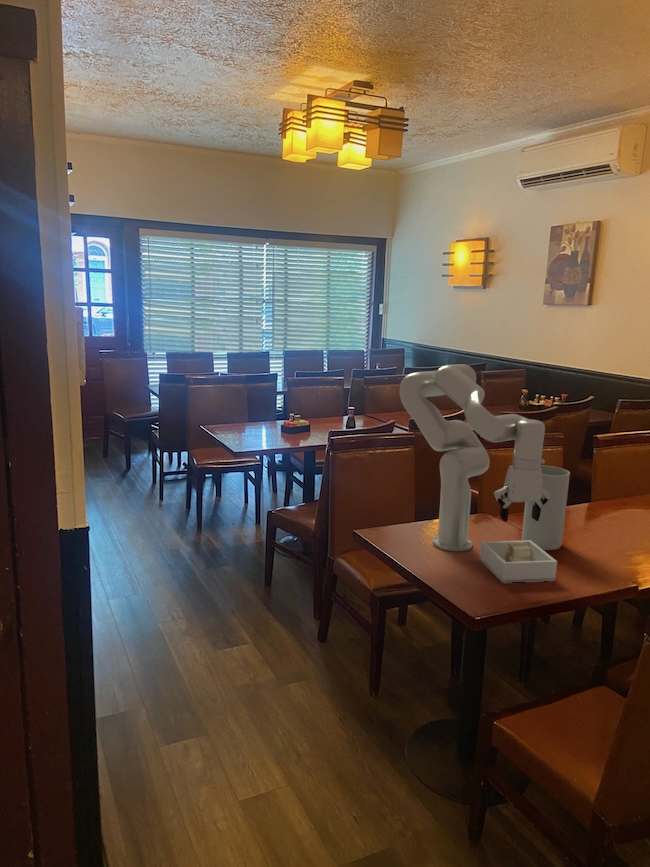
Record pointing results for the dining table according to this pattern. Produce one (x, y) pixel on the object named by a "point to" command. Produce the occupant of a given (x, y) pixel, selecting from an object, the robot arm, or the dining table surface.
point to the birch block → (517, 552)
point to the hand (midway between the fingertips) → (519, 519)
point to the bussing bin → (518, 563)
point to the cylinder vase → (548, 511)
